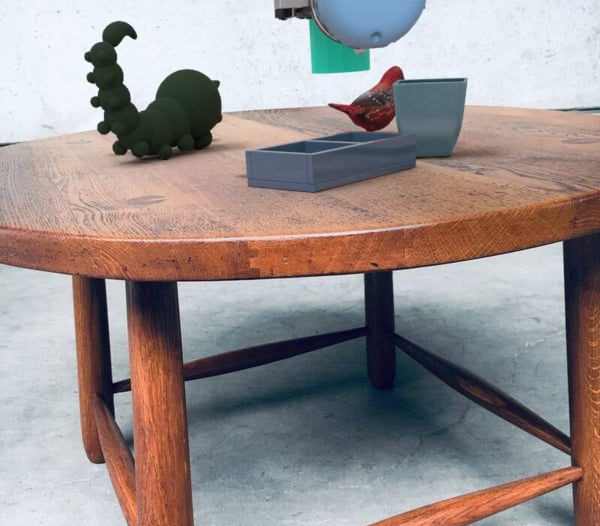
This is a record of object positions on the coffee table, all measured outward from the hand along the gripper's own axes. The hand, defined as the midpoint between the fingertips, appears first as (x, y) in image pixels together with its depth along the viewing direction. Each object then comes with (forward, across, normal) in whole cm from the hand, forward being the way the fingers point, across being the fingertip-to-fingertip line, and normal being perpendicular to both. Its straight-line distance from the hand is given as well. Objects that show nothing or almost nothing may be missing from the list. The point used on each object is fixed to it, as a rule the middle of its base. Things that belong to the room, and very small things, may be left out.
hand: (337, 3), depth 94 cm
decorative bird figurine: (+28, +6, -18) cm, 34 cm away
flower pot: (+13, +12, -18) cm, 25 cm away
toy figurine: (+29, -23, -18) cm, 41 cm away
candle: (-5, 0, -7) cm, 8 cm away
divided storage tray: (+1, -1, -18) cm, 18 cm away
